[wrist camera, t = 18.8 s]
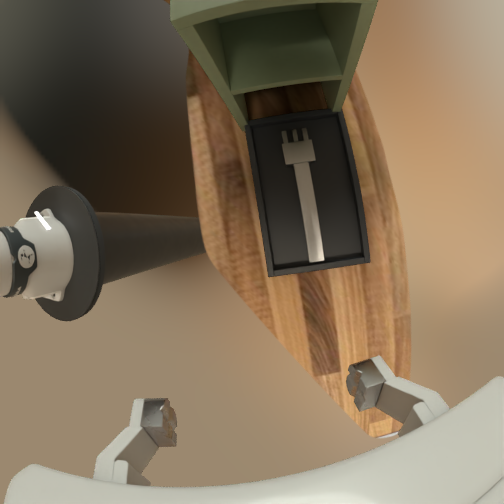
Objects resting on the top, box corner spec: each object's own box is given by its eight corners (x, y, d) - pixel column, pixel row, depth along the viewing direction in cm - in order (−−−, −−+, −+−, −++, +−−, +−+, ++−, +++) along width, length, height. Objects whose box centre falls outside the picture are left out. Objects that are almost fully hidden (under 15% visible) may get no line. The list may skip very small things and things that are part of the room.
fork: (331, 258, 36) (332, 259, 35) (301, 262, 36) (301, 264, 35) (307, 128, 35) (308, 125, 33) (279, 132, 35) (278, 130, 34)
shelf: (242, 131, 37) (169, 21, 12) (231, 67, 36) (171, -47, 11) (338, 117, 34) (380, -6, 10) (318, 53, 34) (325, -71, 9)
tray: (270, 274, 38) (268, 277, 36) (246, 127, 37) (243, 121, 34) (366, 260, 36) (370, 262, 34) (339, 113, 34) (341, 107, 32)
